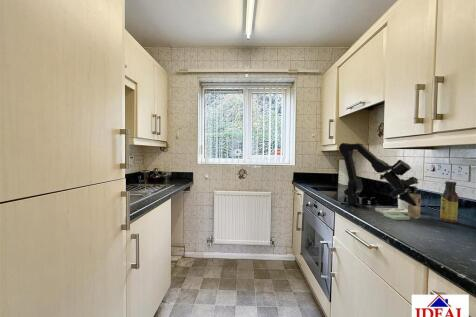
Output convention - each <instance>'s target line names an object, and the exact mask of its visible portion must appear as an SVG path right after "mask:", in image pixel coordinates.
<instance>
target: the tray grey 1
mask: <svg viewBox="0 0 476 317" xmlns="http://www.w3.org/2000/svg"><path fill="white" fill-rule="evenodd" d="M374 210H375V212H377V213H379V214H382V215H384V213H399V212H398V211H395V210H392V209H390V208H389V207H388V208H387V207H385V208H384V207H378V208H377V207H375V209H374Z"/></svg>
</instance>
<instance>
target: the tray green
mask: <svg viewBox="0 0 476 317" xmlns="http://www.w3.org/2000/svg"><path fill="white" fill-rule="evenodd" d="M383 216H385V217H386V218H389V219H392V220H393V221H411V218H410V217H409V216H408V215H403V214H400V213H384V214H383Z"/></svg>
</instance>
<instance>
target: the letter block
mask: <svg viewBox="0 0 476 317" xmlns="http://www.w3.org/2000/svg"><path fill="white" fill-rule="evenodd" d="M410 196H411V198H412V199H413V201H414V202H415V203H416V206H413V205H411V204H409V203H408V215H407V216H409V217H410V219H411V218H412V219H416V220H417V219H421V201H422V200H421V199H422V194H421V193H420V194H419V193H415V194H414V193H411V194H410Z"/></svg>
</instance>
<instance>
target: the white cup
mask: <svg viewBox="0 0 476 317" xmlns="http://www.w3.org/2000/svg"><path fill="white" fill-rule="evenodd" d="M398 197H400V196H399V195H398V196H397V208H404V209H407V210H408V203H407V202H405V201H403V200H401V199H398Z"/></svg>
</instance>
